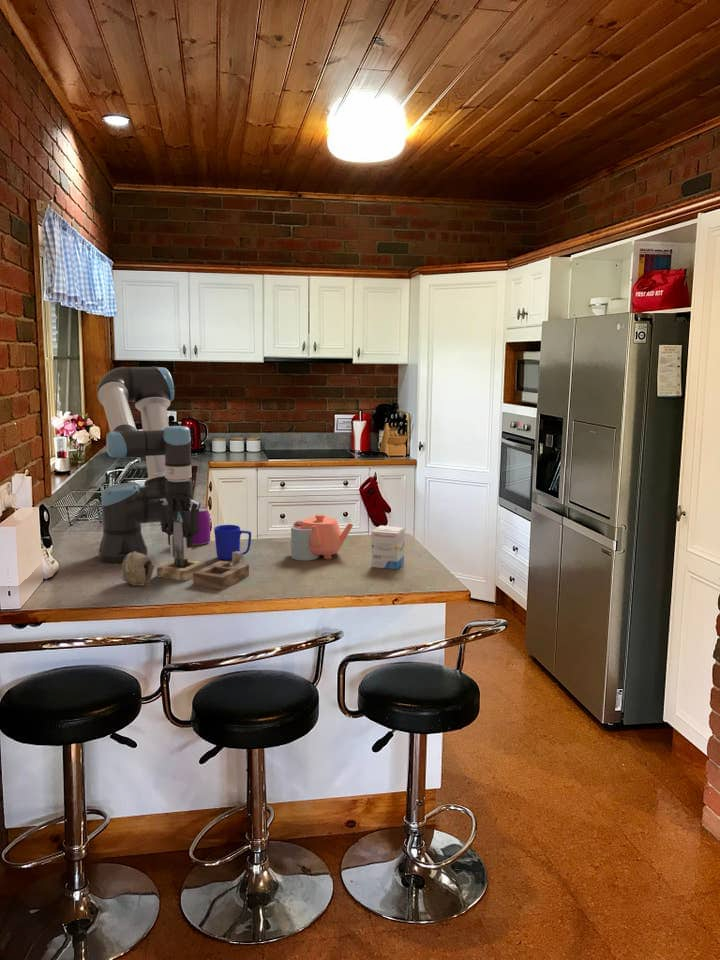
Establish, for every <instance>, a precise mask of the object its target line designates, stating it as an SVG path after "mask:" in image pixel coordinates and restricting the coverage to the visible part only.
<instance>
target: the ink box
mask: <svg viewBox="0 0 720 960" xmlns="http://www.w3.org/2000/svg"><path fill="white" fill-rule="evenodd" d="M405 530H406V528H405V527H401V526H400V527H398V526H389V525H379V526H377V527H376V528H374V529H373V530H371V567H372V568H379V569H388V570H389V569H390V570H399V568H401V566H402V565H403V564H404V563H405V536H406V535H405V532H406V531H405Z"/></svg>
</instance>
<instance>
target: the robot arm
mask: <svg viewBox="0 0 720 960" xmlns="http://www.w3.org/2000/svg"><path fill="white" fill-rule="evenodd" d="M174 385H175V384H174V379H173V377H172V375H171V373H170V371H169V370H168V369H167V368H166V367H162V366H161V367H159V366H154V365H153V366H145V367H144V366H139V367H138V366H121V367H120V366H119V367H115V368H113V369H111V370H110V371H108V372H106V374H104V376H102V378H101V379H100V381H99V382H98V385H97V388H96V395H97V398H98V402H99V404H100V405H102V407H103V410H104V412H105V417H106V420H107V424H108V428H109V432H108V433H106V437H105V441H106V442H105V443H106V446H105V447H106V450H107V451H106V452H107V455H108V456H109V457H111V458H121V459H123V458H132V457H133V458H134V457H145V459H146V460H145V461H146V469H147V478H146V480H145V481H144V483H143V484H144V486H140V484H139V483H138V482H123V483H122V482H121V483H118V484H113V485H110V486H107V487H105V488H104V489H103V490H102V492H101V503H100V506H101V512H102V513H101V515H102V517H101V518H102V538H101V541H100V544H99V545H100V546H99V548H98V554H97V555H98V560H99V561H101V562H104V563H114V564H115V563H117V564H118V563H121V564H122V563H123V560H124V558H125V557H126V556H127V555H128V554H129V553H133V552H134V551H135V552H138V553H141V554H144V555H146V556H147V557H148V552H149V551H148V546H147V545H146V542H145V539H144V535H143V534H142V524H150V523H151V524H152V523H160V524H161V531H162V533H165V534H167V543H168V545H169V547H170V548H169V549H170V558H174V543H173V521H174V520H182V521H183V526H184V531H185V536H184V537H183V547H184V559H187V558H188V559H189V558H191V557H192V548H193V546H194V545H193V536H194V535H197V534H198V533H199V508H200V507H201V502H200V501H195V500H194V499H193V497H192V492H193V481H192V479H191V478H192V477H193V476H192V475H193V473H192V471H193V470H192V452H191V451H192V449H191V448H192V444H191V443H192V442H191V441H192V436H191V429H190V428H189V427H188V426H184V425H169V417H168V408H169V407H170V406H171V404H172V403H171V402H173V401H174V399H175V386H174ZM129 402H130V403H134V406H135V409H137V410H138V411H139V412H140V418H141V427H142V430H137V427H136V423H135V420H134V416H133V414H132V410H131V407H130V404H129ZM190 508H191V518H190Z"/></svg>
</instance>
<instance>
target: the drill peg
mask: <svg viewBox="0 0 720 960" xmlns="http://www.w3.org/2000/svg"><path fill="white" fill-rule="evenodd" d="M184 536H185V531H184V526H183V521H182V519H181V520H174V521H173V543H174V557H173V560H174V567H176V568H183V569H184V568H186V567H188V560H189V558H187V559H184V547H183V537H184Z"/></svg>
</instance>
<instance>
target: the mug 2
mask: <svg viewBox="0 0 720 960" xmlns="http://www.w3.org/2000/svg"><path fill="white" fill-rule="evenodd" d="M301 526H302V524H300V523H299V524H296V525H293V524H292V525H290V557H291V558H292V559H294V560H297V561H313V560H317V559H319V558H320V555H313V554H312V553H311V551H310V550H309V545H310V544H309V542H310V537H311V532H312V529H303V528H301Z"/></svg>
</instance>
